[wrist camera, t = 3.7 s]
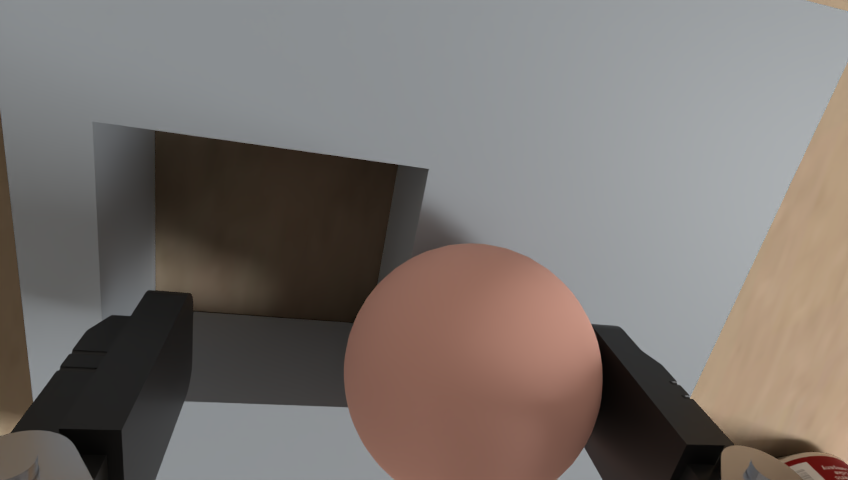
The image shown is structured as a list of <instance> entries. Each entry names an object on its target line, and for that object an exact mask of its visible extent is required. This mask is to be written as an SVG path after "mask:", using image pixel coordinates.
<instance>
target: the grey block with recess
mask: <svg viewBox="0 0 848 480" xmlns="http://www.w3.org/2000/svg"><path fill="white" fill-rule="evenodd" d="M847 62H848V11H845V10H841V9H837V8H833V7H829V6H825V5H821V4H817V3H813V2H810V1H806V0H0V112H1V121H2V130H3V138H4V147H5V156H6V165H7V174H8V183H9V192H10V201H11V210H12V218H13V227H14V236H15V245H16V254H17V263H18V272H19V281H20V290H21V298H22V307H23V316H24V325H25V334H26V343H27V352H28V361H29V370H30V378H31V387H32V396H33V402H34V401H35V399H36V398H37V397H38V395H39V394H40V393H41V391H42V390H43V389H44V387H45V386H46V384H47V383H48V382H49V380H50V379H51V378H52V376H53V375H54V374H55V372H56V371H59V370H60V366H61V364H62V363H63V362H64V360H65V359H66V358H67V356H68V355H69V354H72V349H73V348H74V347H75V345H76V344H77V343H78V341H79V340H80V339H81V337H82V336H83V335H84V333H85V332H86V331H87V330H88V329H90V328H91V327H93V326H95V325H96V324H98V323H99V322H101V321H103V320H104V319H106V318H107V317H109V316H111V315H122V316H131V315H132V313H133V311H134V310H135V308H136V307H137V305H138V304H139V302H140V300H141V299H142V297H143V296H144V294H145V293H146V292H147V291H148V290H154V291H155V130H157V131H164V132H171V133H178V134H185V135H192V136H199V137H206V138H213V139H220V140H228V141H235V142H242V143H249V144H256V145H263V146H270V147H277V148H284V149H291V150H298V151H306V152H313V153H320V154H327V155H334V156H341V157H348V158H355V159H362V160H369V161H376V162H384V163H391V164H398V169H397V175H396V180H395V186H394V192H393V197H392V203H391V209H390V215H389V220H388V226H387V232H386V237H385V243H384V249H383V254H382V260H381V266H380V272H379V277H378V283H377V285H378V284H379V282H381V281H382V280H383V279H384V278H385V277H386V276H387V275H388V274H389V273H391V272H392V271H393V270H394V269H395V268H397V267H398V266H400V265H401V264H403V263H404V262H406V261H407V260H409V259H411V258H413V257H415V256H417V255H419V254H421V253H424V252H426V251H429V250H433V249H436V248H440V247H444V246H447V245H455V244H468V243H473V244H487V245H492V246H497V247H502V248H507V249H509V250H512V251H515V252H517V253H520V254H522V255H524V256H527V257H529V258H531V259H532V260H534V261H536V262H537V263H539V264H540V265H542V266H544V267H545V268H547V269H548V270H550V271H551V272H552V273H553V274H554V275H555V276H557V277H558V278H559V279H560V280H561V281H562V282H563V283H564V284H565V285H566V286H567V287H568V288H569V289H570V291H571V292H572V293H573V294H574V296H575V297H576V298H577V300H578V301H579V303H580V304H581V306H582V308H583V309H584V311H585V313H586V315H587V316H588V318H589V320H590V323H591V324H600V325H614V326H619V327H621V328H622V329H623V330H624V331H625V332H626V333H627V335H628V336H629V337H630V338H631V339H632V340H633V341H634V343H635V344H636V345H637V346H638V347H639V348H640V349H641V350H642V351H643V352H644V353H646V354H647V355H649V356H650V357H652V358H653V359H654V360H656V361H657V362H659V363H660V364H662V365H663V366H664V368H665V369H666V370H667V371H668V372H669V373H670V374H671V375H672V376H673V378H674V379H675V380H676V381H677V385H681V386H682V388H683V389H684V390H685V391H686V392H687V393H688V394H689V395H690V396H691V394H692V392H693V390H694V388H695V386H696V384H697V381H698V379H699V377H700V375H701V373H702V371H703V369H704V367H705V364H706V362H707V360H708V358H709V356H710V354H711V352H712V350H713V347H714V345H715V343H716V341H717V339H718V337H719V335H720V332H721V330H722V328H723V326H724V324H725V322H726V320H727V318H728V315H729V313H730V311H731V309H732V307H733V305H734V303H735V301H736V298H737V296H738V294H739V292H740V290H741V288H742V286H743V284H744V281H745V279H746V277H747V275H748V273H749V271H750V269H751V266H752V264H753V262H754V260H755V258H756V256H757V254H758V252H759V249H760V247H761V245H762V243H763V241H764V239H765V237H766V235H767V232H768V230H769V228H770V226H771V224H772V222H773V220H774V218H775V215H776V213H777V211H778V209H779V207H780V205H781V203H782V200H783V198H784V196H785V194H786V192H787V190H788V188H789V186H790V183H791V181H792V179H793V177H794V175H795V173H796V171H797V169H798V166H799V164H800V162H801V160H802V158H803V156H804V154H805V152H806V149H807V147H808V145H809V143H810V141H811V139H812V137H813V134H814V132H815V130H816V128H817V126H818V124H819V122H820V120H821V117H822V115H823V113H824V111H825V109H826V107H827V105H828V103H829V100H830V98H831V96H832V94H833V92H834V90H835V88H836V86H837V83H838V81H839V79H840V77H841V75H842V73H843V71H844V68H845V66H846V64H847ZM353 324H354V323H346V322H333V321H319V320H305V319H291V318H277V317H263V316H249V315H235V314H221V313H207V312H193V353H192V372H191V378H190V384H189V388H188V392H187V395H186V398H185V401H184V404H183V406H182V409H181V412H180V414H179V417H178V420H177V423H176V425H175V428H174V431H173V433H172V436H171V439H170V442H169V444H168V447H167V450H166V452H165V455H164V458H163V461H162V463H161V466H160V469H159V471H158V474H157V477H156V480H394V479H393V478H392V477H391V476H390V475H389V474H387V473H386V472H385V471H384V470H383V469H382V468H381V467H380V466H379V465H378V463H377V462H376V461H375V460H374V458H373V457H372V456H371V454H370V453H369V452H368V450H367V449H366V447H365V446H364V444H363V442H362V441H361V439H360V437H359V435H358V433H357V430H356V428H355V426H354V424H353V421H352V419H351V416H350V413H349V409H348V405H347V400H346V394H345V386H344V360H345V353H346V348H347V343H348V338H349V334H350V332H351V329H352V326H353ZM557 480H602V478H601V476H600V475H599V473H598V471H597V469H596V467H595V466H594V464H593V462H592V460H591V459H590V457H589V455H588V453H587V451H586V450H585V448H583V450H582V451H581V453H580V454H579V456H578V457H577V458H576V460H575V461H574V463H573V464H572V465H571V466H570V467H569V468H568V469H567V470H566V471H565V472H564V473H563V474H562V475H561V476H560V477H559V478H558V479H557Z"/></svg>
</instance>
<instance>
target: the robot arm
mask: <svg viewBox="0 0 848 480" xmlns="http://www.w3.org/2000/svg"><path fill="white" fill-rule="evenodd" d="M591 325H592V327H593V329H594V332H595V335H596V338H597V341H598V345H599V349H600V354H601V361H602V373H603V384H602V398H601V404H600V409H599V413H598V416H597V419H596V422H595V425H594V428H593V431H592V433H591V435H590V437H589V439H588V441H587V443H586V445H585V447H584V448H585V450H586V451H587V453H588V455H589V457H590V459H591V460H592V462H593V464H594V466H595V467H596V469H597V471H598V473H599V475H600V476H601V478H602V480H803V479H802V478H801V477H800V476H799V475H798V474H797V473H796V472H795V471H794V470H793V469H791V468H790V467H789V466H787V465H786V464H784V463H783V462H781V461H780V460H778V459H777V458H775V457H773V456H771V455H769V454H767V453H765V452H763V451H760V450H757V449H754V448H751V447H747V446H740V445H734V444H733V443H732V442H731V441H730V440H729V438H728V437H727V436H726V435H725V434H724V433H723V432H722V431H721V430H720V428H719V427H718V426H717V425H716V424H715V423H714V422H713V421H712V420H711V419H710V417H709V416H708V415H707V414H706V413H705V412H704V411H703V410H702V409H701V407H700V406H699V405H698V404H697V403H696V402H695V401H694V400H693V399H690V395H689V394H688V393H687V392H686V391H685V390H684V389H683V388H682V386H681V385H677V381H676V380H675V379H674V378H673V376H672V375H671V374H670V373H669V372H668V371H667V370H666V369H665V368H664V366H663V365H662V364H660V363H659V362H657V361H656V360H654V359H653V358H652V357H650V356H649V355H647V354H646V353H644V352H643V351H642V350H641V349H640V348H639V347H638V346H637V345H636V344H635V343H634V341H633V340H632V339H631V338H630V337H629V336H628V335H627V333H626V332H625V331H624V330H623V329H622V328H621V327H619V326H614V325H600V324H591ZM192 353H193V297H192V294H191V293H180V292H167V291H154V290H148V291H147V292H146V293H145V294H144V296H143V297H142V299H141V300H140V302H139V304H138V305H137V307H136V308H135V310H134V311H133V313H132V315H131V316H122V315H111V316H109V317H107V318H106V319H104V320H103V321H101V322H99V323H98V324H96V325H95V326H93V327H91V328H90V329H88V330H87V331H86V332H85V333H84V335H83V336H82V337H81V339H80V340H79V341H78V343H77V344H76V345H75V347H74V348H73V349H72V354H69V355H68V356H67V358H66V359H65V360H64V362H63V363H62V364H61V366H60V370H59V371H56V372H55V374H54V375H53V376H52V378H51V379H50V380H49V382H48V383H47V384H46V386H45V387H44V389H43V390H42V391H41V393H40V394H39V395H38V397H37V398H36V399H35V401H34V402H33V403H32V405H31V406H30V407H29V409H28V410H27V411H26V413H25V414H24V415H23V417H22V418H21V419H20V421H19V422H18V424H17V425H16V426H15V428H14V429H13V430H12V432H11V433H10V434H6V435H2V436H0V480H156V477H157V474H158V471H159V469H160V466H161V463H162V461H163V458H164V455H165V452H166V450H167V447H168V444H169V442H170V439H171V436H172V433H173V431H174V428H175V425H176V423H177V420H178V417H179V414H180V412H181V409H182V406H183V404H184V401H185V398H186V395H187V392H188V388H189V384H190V378H191V372H192Z"/></svg>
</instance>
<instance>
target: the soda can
mask: <svg viewBox="0 0 848 480" xmlns="http://www.w3.org/2000/svg"><path fill="white" fill-rule="evenodd" d="M777 459H778V460H780V461H781V462H783V463H784V464H786V465H787V466H789V467H790V468H791V469H793V470H794V471H795V472H796V473H797V474H798V475H799V476H800V477H801V478H802V479H803V480H848V465H847V464H846V463H845V462H844V461H842V460H841V459H839V458H838V457H836V456H833V455H831V454H827V453H821V452H805V453H798V454H793V455H789V456H784V457H779V458H777Z"/></svg>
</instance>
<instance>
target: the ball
mask: <svg viewBox="0 0 848 480" xmlns="http://www.w3.org/2000/svg"><path fill="white" fill-rule="evenodd" d="M602 384H603V373H602V361H601V354H600V349H599V345H598V341H597V338H596V335H595V332H594V329H593V327H592V325H591V323H590V320H589V318H588V316H587V315H586V313H585V311H584V309H583V308H582V306H581V304H580V303H579V301H578V300H577V298H576V297H575V296H574V294H573V293H572V292H571V291H570V289H569V288H568V287H567V286H566V285H565V284H564V283H563V282H562V281H561V280H560V279H559V278H558V277H557V276H555V275H554V274H553V273H552V272H551V271H550V270H548V269H547V268H545V267H544V266H542V265H540V264H539V263H537V262H536V261H534V260H532V259H531V258H529V257H527V256H524V255H522V254H520V253H517V252H515V251H512V250H509V249H507V248H502V247H497V246H492V245H487V244H473V243H468V244H455V245H447V246H444V247H440V248H436V249H433V250H429V251H426V252H424V253H421V254H419V255H417V256H415V257H413V258H411V259H409V260H407V261H406V262H404V263H403V264H401V265H400V266H398V267H397V268H395V269H394V270H393V271H392V272H391V273H389V274H388V275H387V276H386V277H385V278H384V279H383V280H382V281H381V282H379V284H378V285H377V286H376V287H375V288H374V290H373V291H372V292H371V293H370V295H369V296H368V297H367V299H366V300H365V302H364V304H363V305H362V307H361V309H360V310H359V312H358V314H357V316H356V319H355V321H354V324H353V326H352V329H351V332H350V334H349V338H348V343H347V348H346V353H345V360H344V386H345V394H346V400H347V405H348V409H349V413H350V416H351V419H352V421H353V424H354V426H355V428H356V430H357V433H358V435H359V437H360V439H361V441H362V442H363V444H364V446H365V447H366V449H367V450H368V452H369V453H370V454H371V456H372V457H373V458H374V460H375V461H376V462H377V463H378V465H379V466H380V467H381V468H382V469H383V470H384V471H385V472H386V473H387V474H389V475H390V476H391V477H392V478H393V479H394V480H557V479H558V478H559V477H560V476H561V475H562V474H563V473H564V472H565V471H566V470H567V469H568V468H569V467H570V466H571V465H572V464H573V463H574V461H575V460H576V458H577V457H578V456H579V454H580V453H581V451H582V450H583V448H584V447H585V445H586V443H587V441H588V439H589V437H590V435H591V433H592V431H593V428H594V425H595V422H596V419H597V416H598V413H599V409H600V404H601V398H602Z"/></svg>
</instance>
